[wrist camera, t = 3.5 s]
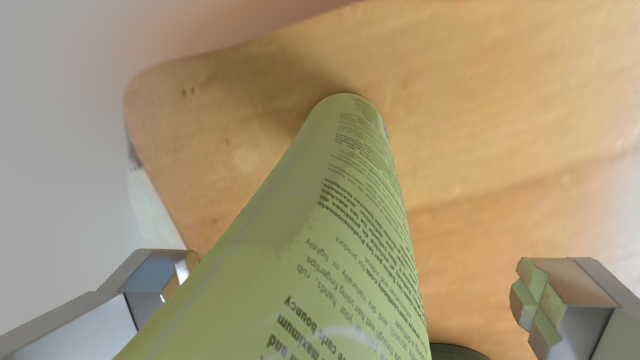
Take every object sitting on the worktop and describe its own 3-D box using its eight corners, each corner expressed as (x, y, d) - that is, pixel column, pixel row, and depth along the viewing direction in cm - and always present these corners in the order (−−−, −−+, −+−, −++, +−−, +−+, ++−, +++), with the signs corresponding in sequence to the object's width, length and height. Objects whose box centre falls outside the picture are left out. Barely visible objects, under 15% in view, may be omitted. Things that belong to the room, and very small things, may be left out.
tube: (288, 156, 21) (31, 753, 4) (304, 78, 19) (-120, 619, 2) (371, 176, 22) (495, 829, 4) (396, 101, 20) (897, 798, 2)
